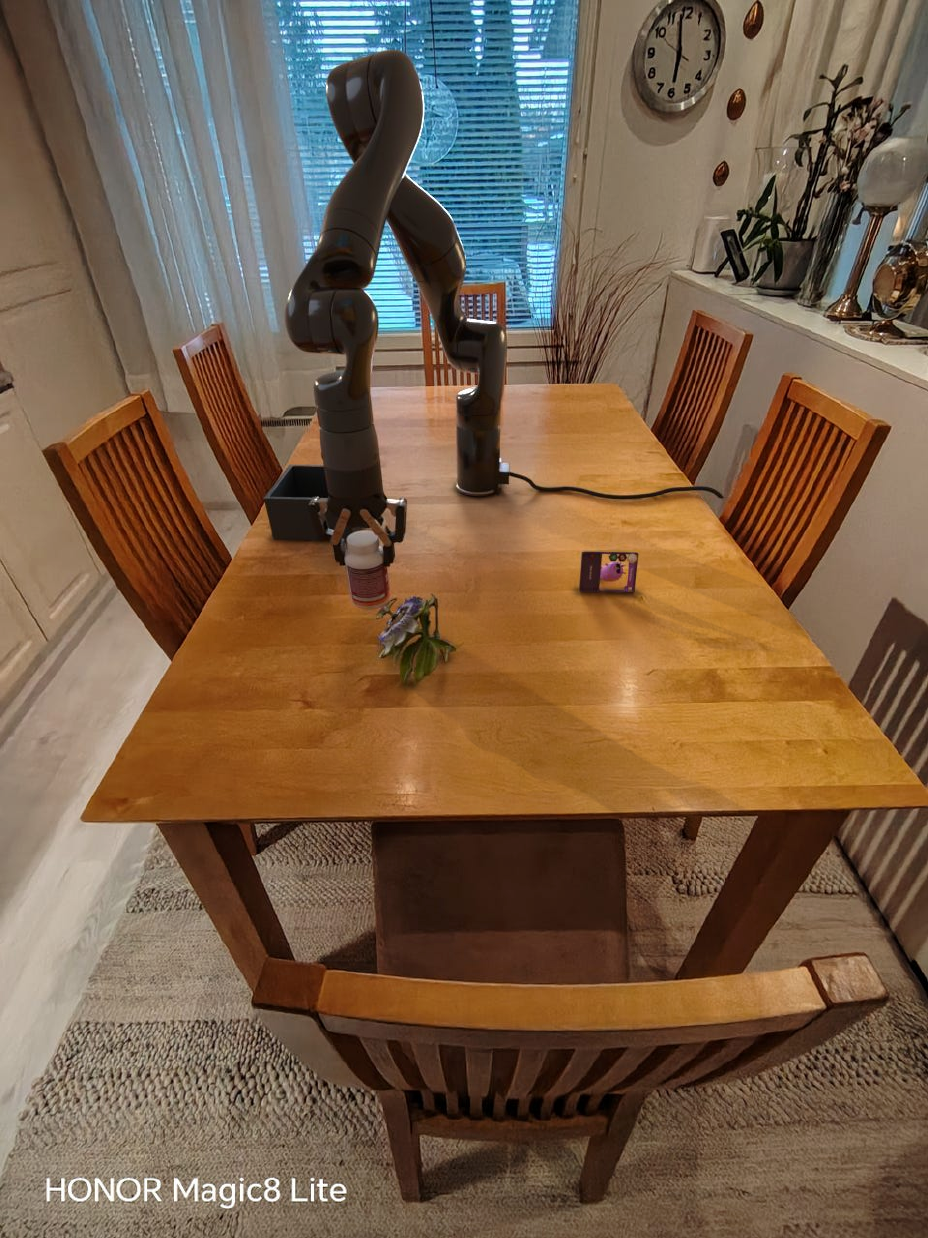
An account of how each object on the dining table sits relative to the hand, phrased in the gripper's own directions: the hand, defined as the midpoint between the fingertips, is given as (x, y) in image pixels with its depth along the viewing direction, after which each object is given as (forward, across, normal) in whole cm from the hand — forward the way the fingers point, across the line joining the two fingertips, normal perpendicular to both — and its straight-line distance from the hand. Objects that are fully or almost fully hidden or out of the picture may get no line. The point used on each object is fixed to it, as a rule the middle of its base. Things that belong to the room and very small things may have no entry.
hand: (365, 563), depth 89 cm
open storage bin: (+9, +15, -29) cm, 34 cm away
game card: (+9, -38, -9) cm, 40 cm away
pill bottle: (+7, 0, 0) cm, 7 cm away
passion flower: (+9, -9, +11) cm, 17 cm away
